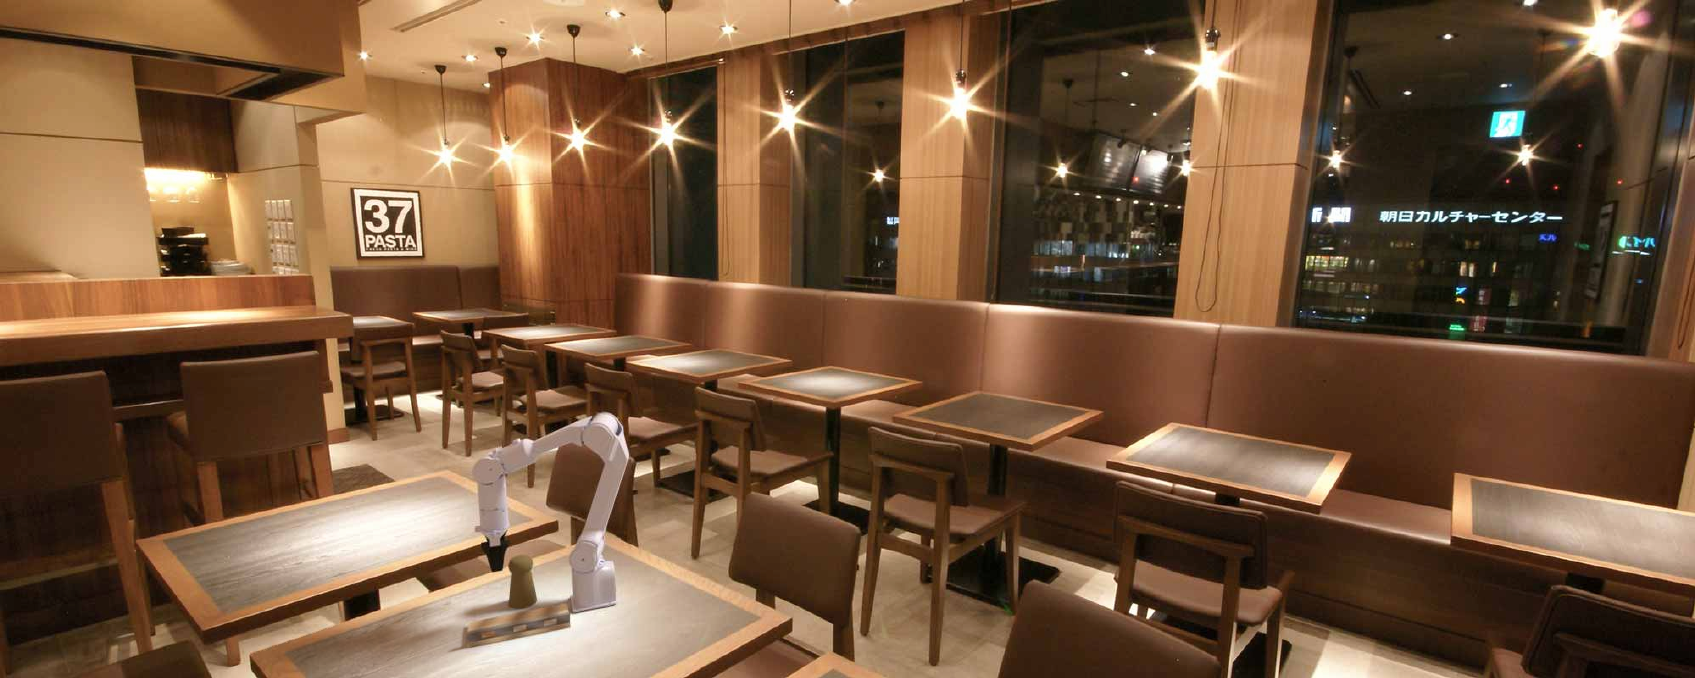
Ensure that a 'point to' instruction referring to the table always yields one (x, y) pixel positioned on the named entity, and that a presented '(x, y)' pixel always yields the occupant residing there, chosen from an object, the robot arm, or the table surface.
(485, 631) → the shelf board
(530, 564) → the cork
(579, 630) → the table surface
